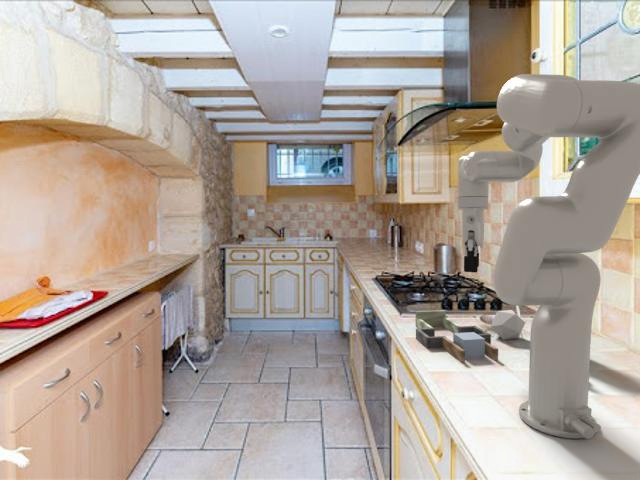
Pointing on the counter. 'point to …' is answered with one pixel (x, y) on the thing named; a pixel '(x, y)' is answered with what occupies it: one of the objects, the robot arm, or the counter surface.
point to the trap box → (431, 341)
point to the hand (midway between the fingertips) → (471, 269)
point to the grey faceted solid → (507, 324)
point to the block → (470, 344)
